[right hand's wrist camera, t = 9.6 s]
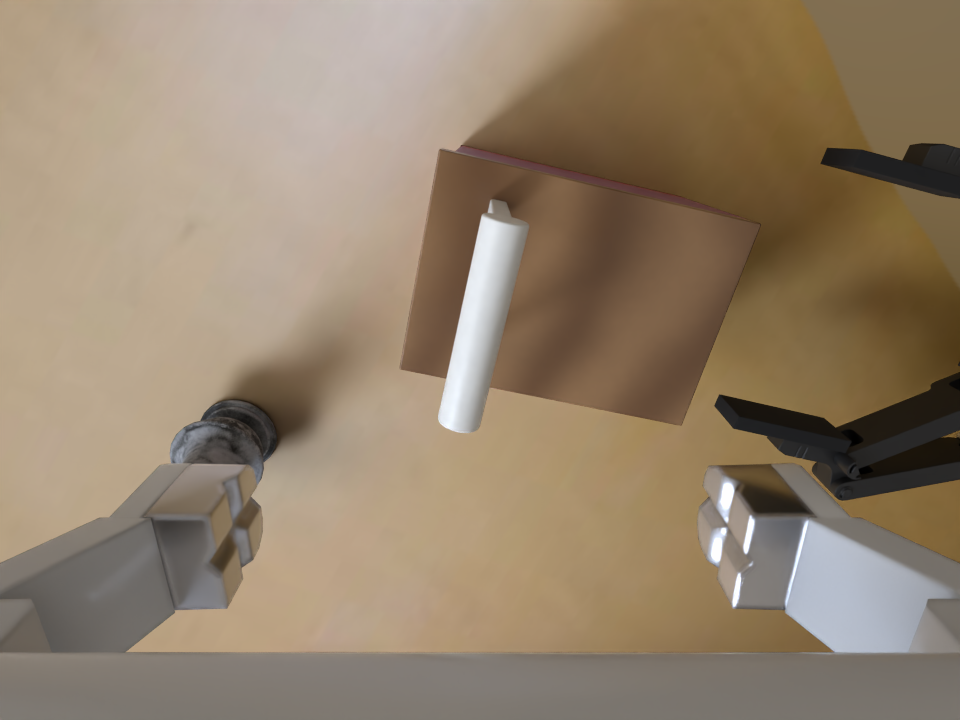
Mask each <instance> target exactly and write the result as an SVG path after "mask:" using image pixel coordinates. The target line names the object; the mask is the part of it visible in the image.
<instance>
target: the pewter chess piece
mask: <svg viewBox="0 0 960 720" xmlns="http://www.w3.org/2000/svg"><path fill="white" fill-rule="evenodd" d="M276 442H277V436H276V430H275V428H274V425H273V423H272V421H271V420H270V419H269V417H268V416H267V415H266V414H265V413H264V412H263V411H262V410H261V409H259V408H257V407H256V406H254V405H252V404H250V403H247V402H243V401H238V400H227V401H222V402H219V403H217V404H215V405H213V406H211V407H210V408H209V409H208V410H207V411H206V412H205V413H204V415H203V417H202V418H201V421H198V422H194V423H192V424H190V425H188V426H186V427H184V428H183V429H182V430H181V431H180V432H179V433H178V434H177V435H176V436H175V438H174V440H173V442H172V444H171V449H170V458H171V464H178V463H191V464H236V465H250V466H251V467H252V468H253V469H254V473H255V477H256V482H257V485H258V483H259V482H260V480H261V478H262V474H263V470H264V465H263V462H265V461H266V460H267V459H268V458H269V457H270V456H271V454H272V453H273V451H274V450H275V446H276Z"/></svg>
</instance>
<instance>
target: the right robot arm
mask: <svg viewBox="0 0 960 720" xmlns="http://www.w3.org/2000/svg"><path fill="white" fill-rule="evenodd" d="M256 487H257V482H256V477H255V473H254V469H253V468H252V467H251V466H250V465H236V464H191V463H178V464H163V465H160V466H159V467H158V468H157V469H156V470H155V471H154V472H153V473H152V474H151V475H150V476H149V477H148V478H147V479H146V480H145V481H144V482H143V483H142V484H141V485H140V486H139V487H138V488H137V489H136V490H135V491H134V492H133V493H132V494H131V495H130V496H129V497H128V498H127V499H126V501H125V502H124V503H123V504H122V505H121V506H120V507H119V508H118V509H117V510H116V511H115V512H114V513H113V514H112V515H111V516H110V517H109V518H98V519H96V520H93V521H91V522H89V523H87V524H85V525H82V526H80V527H78V528H76V529H74V530H72V531H69V532H67V533H65V534H63V535H61V536H58V537H56V538H54V539H52V540H50V541H47V542H45V543H43V544H41V545H39V546H37V547H34V548H32V549H30V550H28V551H26V552H23V553H21V554H19V555H17V556H15V557H12V558H10V559H8V560H6V561H4V562H2V563H0V720H960V563H958V562H956V561H954V560H952V559H949V558H947V557H945V556H943V555H941V554H939V553H936V552H934V551H932V550H930V549H928V548H926V547H923V546H921V545H919V544H917V543H915V542H912V541H910V540H908V539H906V538H904V537H902V536H899V535H897V534H895V533H893V532H891V531H888V530H886V529H884V528H882V527H880V526H878V525H875V524H873V523H871V522H869V521H867V520H864V519H862V518H851V517H850V516H849V515H848V514H847V513H846V512H845V511H844V510H843V509H842V508H841V507H840V506H839V505H838V504H837V503H836V501H835V500H834V499H833V498H832V497H831V496H830V495H829V494H828V493H827V492H826V491H825V490H824V489H823V488H822V487H821V486H820V485H819V484H818V483H817V482H816V481H815V480H814V479H813V478H812V477H811V476H810V475H809V474H808V473H807V472H806V471H805V469H804V468H803V467H802V466H800V465H797V464H795V463H782V464H756V465H716V466H708V468H707V471H706V473H705V476H704V482H703V487H704V489H705V490H706V492H707V494H708V495H709V497H708V498H707V499H706V500H705V501H704V502H703V503H702V504H701V505H700V506H699V511H698V519H697V529H698V539H699V542H700V546H701V549H702V551H703V553H704V555H705V557H706V559H707V560H708V561H709V562H711V563H712V564H714V565H715V566H717V567H718V568H719V570H718V576H717V580H718V582H719V584H720V585H721V587H722V589H723V591H724V593H725V595H726V597H727V598H728V600H729V602H730V604H731V606H732V608H733V609H768V610H785V613H786V614H788V615H789V616H790V617H791V618H793V619H794V620H795V621H796V622H798V623H799V624H800V625H801V626H803V627H804V628H805V629H806V630H808V631H809V632H810V633H811V634H813V635H814V636H815V637H816V638H818V639H819V640H820V641H822V642H823V643H824V644H825V645H827V646H828V647H829V648H830V649H832V650H833V651H834V652H126V651H127V650H129V649H130V648H131V647H132V646H134V645H135V644H136V643H137V642H139V641H140V640H141V639H142V638H144V637H145V636H146V635H147V634H149V633H150V632H151V631H152V630H154V629H155V628H156V627H158V626H159V625H160V624H161V623H163V622H164V621H165V620H166V619H168V618H169V617H170V616H171V615H173V614H174V613H175V610H192V609H227V608H228V606H229V604H230V602H231V600H232V599H233V597H234V595H235V593H236V591H237V589H238V587H239V585H240V584H241V582H242V580H243V576H242V570H241V568H242V567H243V566H245V565H246V564H248V563H249V562H251V561H252V560H253V559H254V557H255V555H256V553H257V551H258V549H259V546H260V541H261V537H262V532H263V517H262V511H261V506H260V505H259V504H258V503H257V502H256V501H255V500H254V499H253V498H252V497H251V495H252V494H253V492H254V490H255V489H256Z"/></svg>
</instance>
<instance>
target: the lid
mask: <svg viewBox="0 0 960 720" xmlns="http://www.w3.org/2000/svg"><path fill="white" fill-rule="evenodd" d="M760 226H761V224H760V223H757V222H754V221H751V220H747V219H743V218H739V217H735V216H730V215H726V214H722V213H717V212H713V211H709V210H705V209H700V208H696V207H692V206H687V205H683V204H679V203H674V202H670V201H666V200H662V199H657V198H653V197H649V196H644V195H640V194H636V193H632V192H627V191H623V190H619V189H614V188H610V187H606V186H602V185H597V184H593V183H589V182H584V181H580V180H576V179H571V178H567V177H563V176H559V175H554V174H550V173H546V172H541V171H537V170H533V169H529V168H524V167H520V166H516V165H511V164H507V163H503V162H499V161H494V160H490V159H486V158H481V157H477V156H473V155H468V154H464V153H460V152H456V151H451V150H447V149H443V148H442V149H440V150H439V153H438V159H437V164H436V170H435V175H434V181H433V186H432V192H431V197H430V203H429V208H428V214H427V219H426V225H425V230H424V236H423V241H422V247H421V252H420V258H419V263H418V269H417V275H416V280H415V286H414V291H413V297H412V302H411V308H410V313H409V319H408V324H407V330H406V335H405V341H404V346H403V352H402V357H401V363H400V369H401V370H406V371H411V372H416V373H421V374H426V375H431V376H436V377H441V378H446V383H445V387H444V392H443V397H442V401H441V406H440V411H439V415H438V419H439V422H440V423H441V424H442V425H443V426H444V427H446V428H447V429H450V430H452V431H455V432H461V433H470V432H474V431H476V430H477V429H478V428H479V427H480V423H481V419H482V415H483V411H484V407H485V403H486V399H487V395H488V391H489V387H491V388H496V389H501V390H506V391H511V392H516V393H521V394H526V395H531V396H536V397H541V398H546V399H551V400H556V401H561V402H566V403H570V404H575V405H580V406H585V407H590V408H595V409H600V410H605V411H610V412H615V413H620V414H625V415H630V416H635V417H640V418H645V419H650V420H655V421H660V422H665V423H670V424H675V425H680V426H681V425H682V423H683V420H684V418H685V415H686V413H687V410H688V407H689V405H690V402H691V400H692V397H693V395H694V392H695V390H696V387H697V385H698V382H699V380H700V377H701V375H702V372H703V370H704V367H705V365H706V362H707V360H708V357H709V355H710V352H711V350H712V347H713V345H714V342H715V339H716V337H717V334H718V332H719V329H720V327H721V324H722V322H723V319H724V317H725V314H726V312H727V309H728V307H729V304H730V302H731V299H732V297H733V294H734V292H735V289H736V287H737V284H738V282H739V279H740V276H741V274H742V271H743V269H744V266H745V264H746V261H747V259H748V256H749V254H750V251H751V249H752V246H753V244H754V241H755V239H756V236H757V234H758V231H759V229H760Z"/></svg>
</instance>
